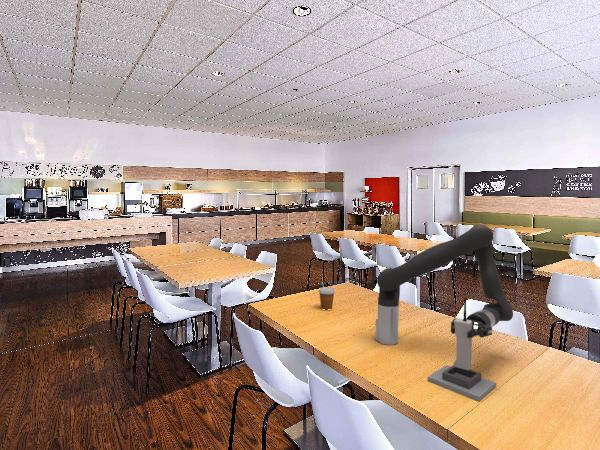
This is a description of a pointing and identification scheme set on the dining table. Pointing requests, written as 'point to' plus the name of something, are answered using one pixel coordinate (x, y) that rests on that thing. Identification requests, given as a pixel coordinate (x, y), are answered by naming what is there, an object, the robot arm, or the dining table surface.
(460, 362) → the vintage mobile phone
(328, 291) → the disposable coffee cup
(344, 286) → the dining table surface
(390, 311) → the robot arm
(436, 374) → the dock board
